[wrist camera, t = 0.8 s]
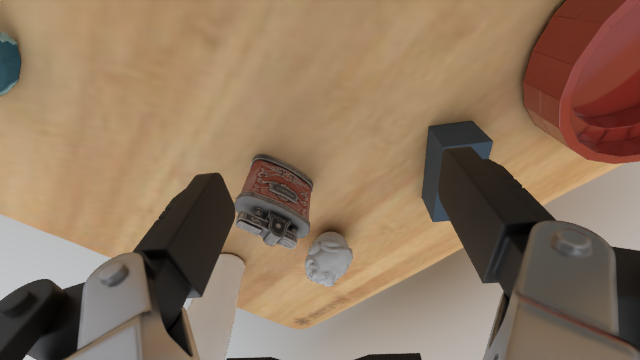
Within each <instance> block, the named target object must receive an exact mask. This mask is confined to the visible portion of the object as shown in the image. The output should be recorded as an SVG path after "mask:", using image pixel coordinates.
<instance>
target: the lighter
mask: <svg viewBox="0 0 640 360" xmlns="http://www.w3.org/2000/svg"><path fill="white" fill-rule="evenodd" d="M312 189H313V183H312V181H311V180H310V179H309V178H308V177H307V176H305V175H304V174H303V173H302V172H300V171H299V170H297V169H295V168H294V167H292V166H291V165H289V164H287V163H285V162H283V161H280V160H278V159H276V158H273V157H270V156H268V155H264V154H259V155H257V156H255V157H254V158H253V160H252V163H251V165H250V172H249V174H248V177H247V179H246V182H245V184H244V187H243V189H242V192H241V193H240V194H239V195H238V197H237V199H236V201H235V204H234V206H235V209H236V211H237V212H238V213H239V214H238V217H237V220H236V222H235V225H236V226H237V227H238V228H241V229H243V230H245V231H247V232H250V233H252V234H254V235H257V236H261V237H262V238H263V241H264V242H265V243H266V244H267V245H270V246H274V245H275V244H279V245H281V246H284V247H286V248H289V249H293V248H295V247H296V245H297V238H303V237H305V236H306V235H308V233H309V230H310V222H309V209H310V196H311V192H312Z"/></svg>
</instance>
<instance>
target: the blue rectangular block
mask: <svg viewBox="0 0 640 360" xmlns="http://www.w3.org/2000/svg"><path fill="white" fill-rule="evenodd" d="M492 144H493V141H492V140H491V139H490V138H489V137H488V136H487V135H486V134H485V133H484V132H483V131H482V130H481V129H480V128H479V127H478V126H477V125H476V124H475V123H474V122H473V121H467V122H460V123H452V124H444V125H436V126H429V130H428V140H427V150H426V161H425V171H424V181H423V192H422V198H423V201H424V203H425V205H426V208H427V210H428V212H429V215H430V217H431V219H432V221H433V222H439V221H450V220H449V218H448V216H447V214H446V212H445V210H444V208H443V206H442V204H441V202H440V199H439V195H438V181H439V174H440V167H441V160H442V154H443V151H444V149H446V148H454V147H464V146H471V147H472V148H473V149H474V150H475V151H476V152H477V154H478V155H479V156H480V157H481V158H482V159H489V155H490V152H491V148H492Z"/></svg>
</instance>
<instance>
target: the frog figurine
mask: <svg viewBox="0 0 640 360" xmlns="http://www.w3.org/2000/svg"><path fill="white" fill-rule="evenodd" d="M352 259H353V254H352V249H351V248H349V247H348V244H347V241H346V240H345V238H344V237H343V236H342V235H340V234H338V233H336V232H325V233H323V234H321V235H320V236H319V237H318V238H317V239H315V242H313V245H312V246H311V247H310V248H309V250H308V256H307V258H306V261H305V269H306V274H307V277H308V278H309V279H310V280H311V281H313V282H316V283H319V284H323V285H324V286H327V287H330V286H333V285H334V283H335V281H337V280H338V279H339V277H341V276H342V275H343V274H345V272H346V271H347V269H348V266H349V265H350V264H351V261H352Z"/></svg>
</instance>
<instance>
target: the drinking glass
mask: <svg viewBox="0 0 640 360" xmlns="http://www.w3.org/2000/svg"><path fill="white" fill-rule="evenodd" d="M244 270H245V264H244V262H243V261H242V260H241V259H240V258H239V257H237V256H235V255H232V254H220V255H219V258H218V260H217V262H216V265H215V267H214V270H213V272H212V274H211V277H210V279H209V282H208V284H207V286H206V289H205V291H204V293H203V296H202V297H199V298H193V299H192V301H191V303H190V305H189V307H188V309H187V311H186V312H187V315H188V318H189V322H190V326H191V329H192V333H193V336H194V340H195V343H196V347H197V350H198V354H199V358H200V360H224V359H225V356H226V353H227V349H228V345H229V341H230V337H231V332H232V327H233V322H234V317H235V312H236V307H237V301H238V296H239V291H240V286H241V281H242V277H243V273H244Z"/></svg>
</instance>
